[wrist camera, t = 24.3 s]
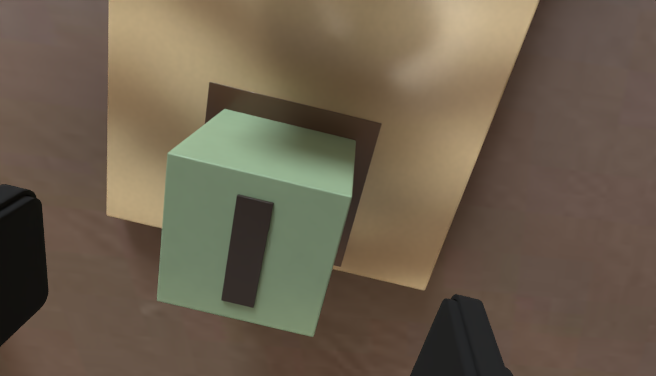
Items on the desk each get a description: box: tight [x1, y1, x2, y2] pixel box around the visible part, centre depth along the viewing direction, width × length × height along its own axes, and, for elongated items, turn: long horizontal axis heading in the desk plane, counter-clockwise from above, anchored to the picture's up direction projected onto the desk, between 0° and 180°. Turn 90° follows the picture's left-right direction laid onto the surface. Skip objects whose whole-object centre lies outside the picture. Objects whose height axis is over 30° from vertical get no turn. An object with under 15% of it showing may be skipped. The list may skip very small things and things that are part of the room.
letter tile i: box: [157, 109, 356, 337], centre depth 14 cm, size 5×5×5 cm
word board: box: [107, 0, 540, 290], centre depth 15 cm, size 18×14×1 cm
